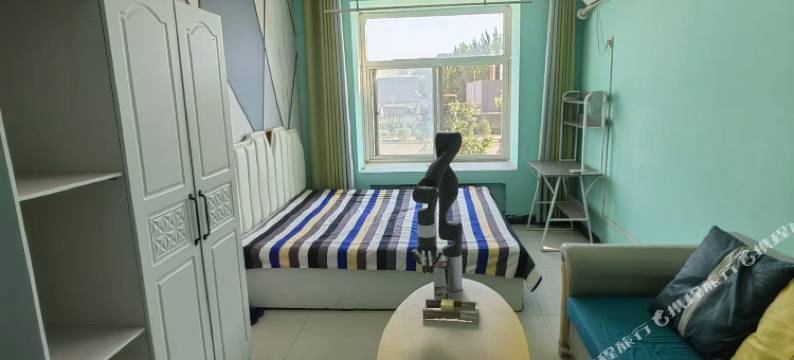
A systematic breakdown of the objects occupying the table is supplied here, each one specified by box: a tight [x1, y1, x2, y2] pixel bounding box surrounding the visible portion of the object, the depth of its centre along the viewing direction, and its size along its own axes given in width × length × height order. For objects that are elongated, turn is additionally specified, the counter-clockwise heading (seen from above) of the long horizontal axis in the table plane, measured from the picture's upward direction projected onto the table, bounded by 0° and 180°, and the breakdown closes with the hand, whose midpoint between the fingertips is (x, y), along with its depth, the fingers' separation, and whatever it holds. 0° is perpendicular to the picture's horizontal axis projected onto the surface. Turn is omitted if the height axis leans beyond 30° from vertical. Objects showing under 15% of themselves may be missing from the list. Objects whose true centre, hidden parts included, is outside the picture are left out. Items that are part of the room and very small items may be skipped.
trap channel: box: [422, 298, 479, 324], centre depth 193 cm, size 10×23×6 cm, turn 79°
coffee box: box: [433, 260, 450, 300], centre depth 208 cm, size 9×6×16 cm
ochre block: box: [441, 298, 455, 311], centre depth 193 cm, size 5×5×4 cm
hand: (427, 272), depth 191 cm, fingers closed
